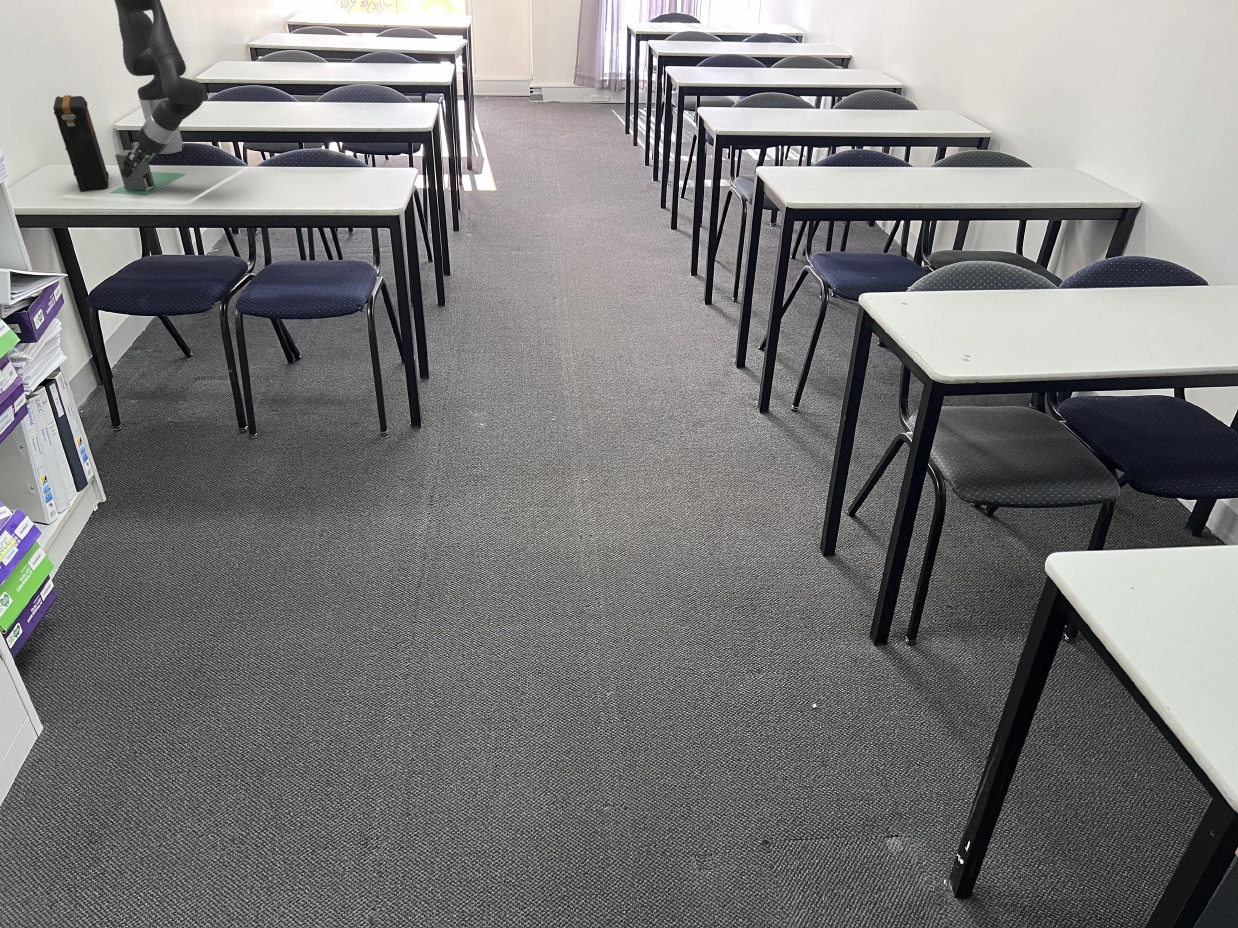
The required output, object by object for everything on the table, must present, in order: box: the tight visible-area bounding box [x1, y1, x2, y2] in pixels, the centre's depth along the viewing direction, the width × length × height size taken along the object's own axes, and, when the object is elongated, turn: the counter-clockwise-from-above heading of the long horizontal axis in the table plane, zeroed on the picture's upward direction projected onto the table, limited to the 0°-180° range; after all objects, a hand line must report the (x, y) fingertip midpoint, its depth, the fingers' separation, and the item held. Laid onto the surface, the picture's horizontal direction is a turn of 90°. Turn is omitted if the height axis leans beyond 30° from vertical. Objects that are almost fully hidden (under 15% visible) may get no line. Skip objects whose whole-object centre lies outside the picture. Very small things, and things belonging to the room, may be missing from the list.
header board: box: [109, 171, 187, 196], centre depth 271 cm, size 22×12×4 cm, turn 173°
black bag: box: [52, 94, 110, 193], centre depth 264 cm, size 16×9×25 cm, turn 25°
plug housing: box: [114, 149, 154, 190], centre depth 265 cm, size 6×6×10 cm
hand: (130, 172), depth 265 cm, fingers closed on plug housing, 5 cm apart
